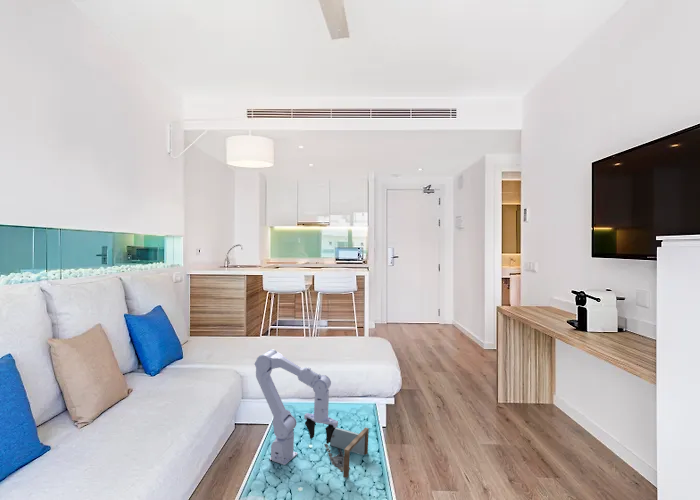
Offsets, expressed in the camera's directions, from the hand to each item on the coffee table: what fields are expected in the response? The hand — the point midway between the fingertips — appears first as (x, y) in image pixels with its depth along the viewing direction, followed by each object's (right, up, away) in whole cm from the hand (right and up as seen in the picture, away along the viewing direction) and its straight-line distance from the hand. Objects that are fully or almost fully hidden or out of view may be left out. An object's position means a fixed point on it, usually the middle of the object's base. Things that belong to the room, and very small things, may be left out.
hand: (320, 440), depth 164 cm
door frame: (+15, -10, 0) cm, 18 cm away
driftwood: (+7, -10, +5) cm, 13 cm away
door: (+10, -9, +10) cm, 17 cm away
